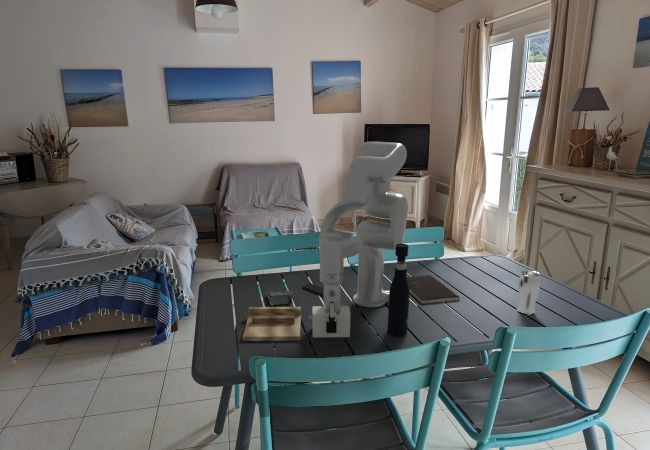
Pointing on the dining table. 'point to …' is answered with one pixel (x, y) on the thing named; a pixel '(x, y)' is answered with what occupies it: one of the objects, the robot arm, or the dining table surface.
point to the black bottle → (399, 295)
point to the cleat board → (273, 324)
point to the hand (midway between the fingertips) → (330, 326)
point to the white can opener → (528, 291)
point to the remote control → (314, 289)
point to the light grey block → (321, 318)
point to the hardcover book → (430, 289)
